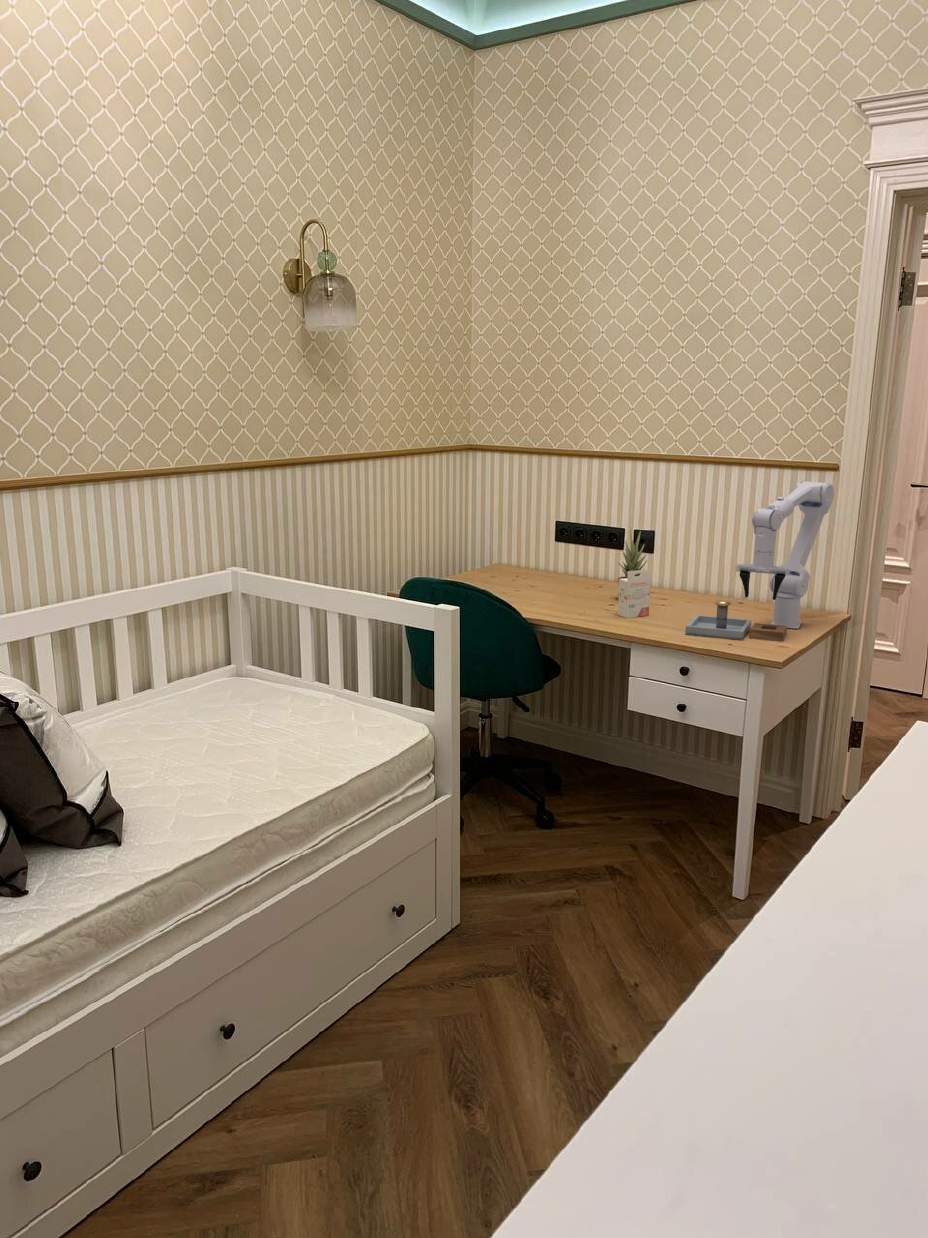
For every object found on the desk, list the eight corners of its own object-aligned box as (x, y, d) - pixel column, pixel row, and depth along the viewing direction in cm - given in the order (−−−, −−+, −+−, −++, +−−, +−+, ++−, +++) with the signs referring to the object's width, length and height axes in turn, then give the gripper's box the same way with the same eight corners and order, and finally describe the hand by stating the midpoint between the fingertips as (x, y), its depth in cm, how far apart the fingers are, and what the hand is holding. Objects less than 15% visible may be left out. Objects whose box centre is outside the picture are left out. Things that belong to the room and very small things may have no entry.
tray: (696, 622, 294) (696, 614, 293) (750, 628, 287) (751, 619, 287) (685, 634, 279) (685, 626, 279) (742, 640, 273) (743, 631, 272)
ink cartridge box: (640, 612, 307) (642, 567, 304) (649, 616, 303) (651, 569, 299) (617, 615, 304) (618, 568, 301) (625, 618, 299) (627, 571, 296)
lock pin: (714, 627, 286) (716, 599, 284) (730, 628, 284) (731, 600, 282) (712, 630, 282) (713, 602, 280) (727, 632, 280) (729, 603, 278)
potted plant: (636, 596, 332) (639, 524, 327) (650, 601, 324) (653, 528, 318) (610, 597, 329) (613, 525, 324) (623, 603, 321) (626, 529, 315)
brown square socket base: (754, 631, 283) (754, 622, 283) (786, 634, 280) (787, 625, 279) (749, 638, 275) (750, 629, 275) (782, 641, 272) (783, 632, 271)
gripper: (736, 550, 275) (732, 597, 278) (789, 554, 270) (785, 602, 272) (740, 547, 282) (736, 593, 284) (792, 551, 276) (788, 598, 279)
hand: (760, 597), depth 279 cm, fingers open, 7 cm apart
